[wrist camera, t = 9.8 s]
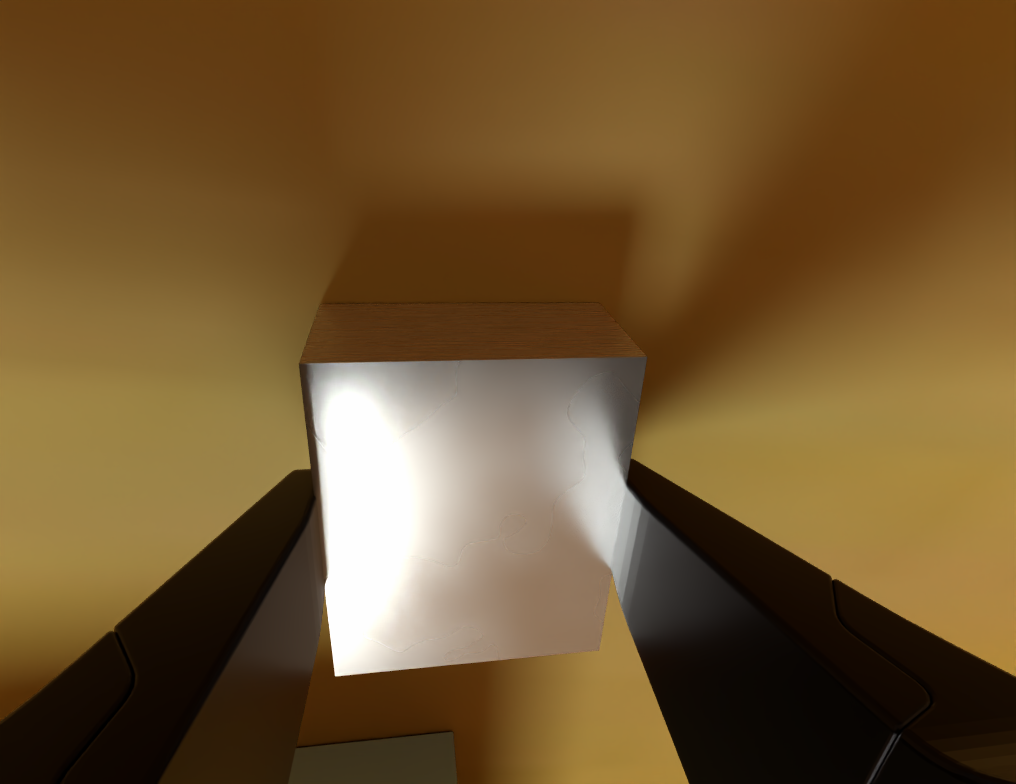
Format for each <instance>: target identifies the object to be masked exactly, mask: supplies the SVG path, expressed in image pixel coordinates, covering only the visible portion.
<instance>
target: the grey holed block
mask: <svg viewBox="0 0 1016 784" xmlns="http://www.w3.org/2000/svg"><path fill="white" fill-rule="evenodd" d="M288 784H457V773H456V761H455V749H454V736H453V732H446V733H436V734H427V735H417V736H408V737H398V738H389V739H380V740H370V741H361V742H351V743H342V744H332V745H323V746H314V747H304V748H296V749H295V754H294V759H293V763H292V768H291V773H290V777H289V782H288Z"/></svg>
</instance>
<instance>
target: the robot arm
mask: <svg viewBox="0 0 1016 784" xmlns="http://www.w3.org/2000/svg"><path fill="white" fill-rule="evenodd" d="M611 571H612V575H613V578H614V582H615V586H616V590H617V594H618V597H619V601H620V604H621V608H622V611H623V613H624V616H625V619H626V622H627V624H628V627H629V630H630V632H631V635H632V637H633V640H634V642H635V645H636V648H637V650H638V653H639V655H640V658H641V661H642V663H643V666H644V668H645V671H646V673H647V676H648V679H649V681H650V684H651V686H652V689H653V691H654V694H655V697H656V699H657V702H658V704H659V707H660V709H661V712H662V715H663V717H664V720H665V722H666V725H667V727H668V730H669V733H670V735H671V738H672V740H673V743H674V746H675V748H676V751H677V753H678V756H679V758H680V761H681V764H682V766H683V769H684V771H685V774H686V776H687V779H688V782H689V784H1016V677H1015V676H1013V675H1011V674H1010V673H1008V672H1006V671H1004V670H1002V669H1000V668H998V667H996V666H994V665H992V664H990V663H988V662H986V661H984V660H982V659H981V658H979V657H977V656H975V655H973V654H971V653H969V652H967V651H965V650H963V649H961V648H959V647H957V646H955V645H953V644H952V643H950V642H948V641H946V640H944V639H942V638H940V637H938V636H936V635H935V634H933V633H931V632H929V631H927V630H925V629H923V628H921V627H920V626H918V625H916V624H914V623H912V622H910V621H908V620H906V619H904V618H903V617H901V616H899V615H897V614H896V613H894V612H892V611H890V610H889V609H887V608H885V607H883V606H882V605H880V604H878V603H876V602H875V601H873V600H871V599H869V598H868V597H866V596H864V595H862V594H861V593H859V592H857V591H856V590H854V589H852V588H851V587H849V586H847V585H846V584H844V583H842V582H841V581H839V580H837V579H834V580H832V578H831V576H830V575H829V574H827V573H825V572H823V571H822V570H820V569H818V568H817V567H815V566H813V565H812V564H810V563H808V562H807V561H805V560H803V559H802V558H800V557H798V556H796V555H795V554H793V553H791V552H790V551H788V550H786V549H785V548H783V547H781V546H780V545H778V544H776V543H774V542H773V541H771V540H769V539H768V538H766V537H764V536H763V535H761V534H759V533H758V532H756V531H754V530H752V529H751V528H749V527H747V526H746V525H744V524H742V523H741V522H739V521H737V520H736V519H734V518H732V517H731V516H729V515H727V514H725V513H724V512H722V511H720V510H719V509H717V508H715V507H714V506H712V505H710V504H709V503H707V502H705V501H703V500H702V499H700V498H698V497H697V496H695V495H693V494H692V493H690V492H688V491H687V490H685V489H683V488H681V487H680V486H678V485H676V484H675V483H673V482H671V481H670V480H668V479H666V478H665V477H663V476H661V475H660V474H658V473H656V472H654V471H653V470H651V469H649V468H648V467H646V466H644V465H643V464H641V463H639V462H638V461H636V460H634V459H630V465H629V471H628V477H627V483H626V489H625V494H624V500H623V505H622V511H621V516H620V522H619V527H618V533H617V538H616V544H615V549H614V554H613V560H612V565H611ZM324 589H325V583H324V572H323V561H322V551H321V540H320V529H319V518H318V508H317V499H316V497H315V496H314V490H313V481H312V473H311V469H303V470H294V471H292V472H291V473H290V474H288V475H287V476H286V477H285V478H284V479H283V480H282V481H280V482H279V483H278V484H277V485H276V486H275V487H274V488H272V489H271V490H270V491H269V492H268V493H267V494H266V495H264V496H263V497H262V498H261V499H260V500H259V501H258V502H256V503H255V504H254V505H253V506H252V507H251V508H250V509H248V510H247V511H246V512H245V513H244V514H243V515H242V516H240V517H239V518H238V519H237V520H236V521H235V522H234V523H232V524H231V525H230V526H229V527H228V528H227V529H226V530H224V531H223V532H222V533H221V534H220V535H219V536H218V537H216V538H215V539H214V540H213V541H212V542H211V543H210V544H208V545H207V546H206V547H205V548H204V549H203V550H202V551H200V552H199V553H198V554H197V555H196V556H195V557H194V558H192V559H191V560H190V561H189V562H188V563H187V564H186V565H184V566H183V567H182V568H181V569H180V570H179V571H178V572H176V573H175V574H174V575H173V576H172V577H171V578H170V579H168V580H167V581H166V582H165V583H164V584H163V585H162V586H160V587H159V588H158V589H157V590H156V591H155V592H154V593H152V594H151V595H150V596H149V597H148V598H147V599H146V600H144V601H143V602H142V603H141V604H140V605H139V606H138V607H136V608H135V609H134V610H133V611H132V612H131V613H130V614H128V615H127V616H126V617H125V618H124V619H123V620H122V621H120V622H119V623H118V624H117V625H116V626H115V627H114V632H113V631H110V632H108V633H106V634H105V635H104V636H103V637H102V638H101V639H100V640H98V641H97V642H96V643H95V644H94V645H93V646H92V647H90V648H89V649H88V650H87V651H86V652H85V653H84V654H82V655H81V656H80V657H79V658H78V659H76V660H75V661H74V662H73V663H72V664H70V665H69V666H68V667H67V668H66V669H65V670H63V671H62V672H61V673H60V674H59V675H57V676H56V677H55V678H54V679H53V680H51V681H50V682H49V683H48V684H47V685H45V686H44V687H43V688H42V689H41V690H39V691H38V692H37V693H36V694H35V695H33V696H32V697H31V698H29V699H28V700H27V701H26V702H24V703H23V704H22V705H20V706H19V707H18V708H17V709H15V710H14V711H13V712H11V713H10V714H9V715H8V716H6V717H5V718H4V719H2V720H1V721H0V784H288V782H289V777H290V773H291V768H292V763H293V759H294V754H295V749H296V745H297V740H298V735H299V731H300V726H301V721H302V717H303V712H304V707H305V703H306V698H307V694H308V689H309V684H310V680H311V675H312V670H313V666H314V661H315V656H316V652H317V647H318V641H319V636H320V630H321V622H322V613H323V602H324Z"/></svg>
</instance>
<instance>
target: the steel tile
mask: <svg viewBox="0 0 1016 784" xmlns="http://www.w3.org/2000/svg"><path fill="white" fill-rule="evenodd" d="M646 361H647V356H646V355H645V354H644V353H643V352H642V350H641V349H640V348H639V347H638V346H637V345H636V344H635V343H634V341H633V340H632V339H631V338H630V337H629V336H628V335H627V333H626V332H625V331H624V330H623V329H622V328H621V327H620V326H619V324H618V323H617V322H616V321H615V320H614V319H613V318H612V317H611V315H610V314H609V313H608V312H607V311H606V310H605V309H604V308H603V306H602V305H601V304H600V303H436V304H320V305H319V308H318V311H317V314H316V317H315V319H314V322H313V325H312V328H311V331H310V334H309V336H308V339H307V342H306V345H305V348H304V351H303V353H302V356H301V359H300V362H299V369H300V378H301V386H302V395H303V403H304V412H305V421H306V429H307V438H308V447H309V455H310V464H311V473H312V481H313V490H314V496H315V497H316V499H317V508H318V518H319V529H320V540H321V551H322V561H323V572H324V583H325V594H326V602H327V611H328V619H329V628H330V637H331V645H332V654H333V663H334V671H335V676H344V675H354V674H364V673H374V672H384V671H394V670H405V669H415V668H425V667H435V666H445V665H455V664H465V663H476V662H486V661H496V660H506V659H516V658H526V657H536V656H546V655H557V654H567V653H577V652H587V651H597V650H599V648H600V642H601V636H602V629H603V623H604V617H605V611H606V605H607V599H608V593H609V587H610V581H611V575H612V571H611V565H612V560H613V554H614V549H615V544H616V538H617V533H618V527H619V522H620V516H621V511H622V505H623V500H624V494H625V489H626V483H627V477H628V471H629V465H630V459H631V453H632V447H633V440H634V434H635V428H636V422H637V416H638V410H639V404H640V398H641V392H642V386H643V380H644V373H645V367H646Z"/></svg>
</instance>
